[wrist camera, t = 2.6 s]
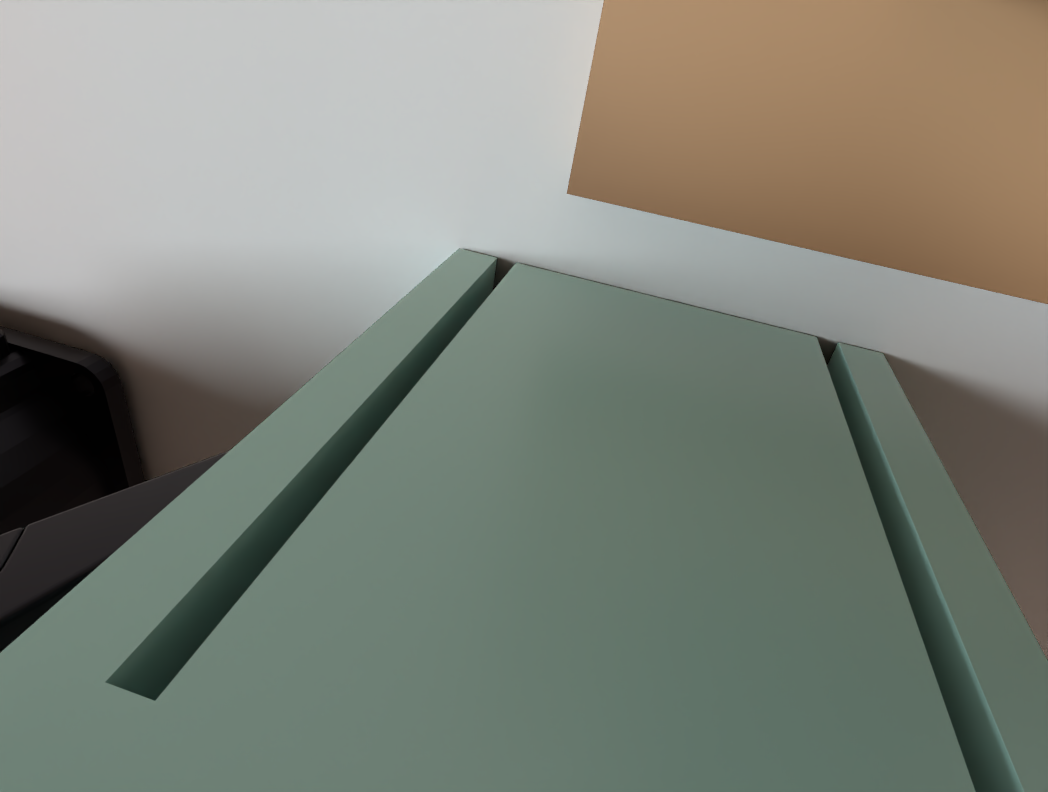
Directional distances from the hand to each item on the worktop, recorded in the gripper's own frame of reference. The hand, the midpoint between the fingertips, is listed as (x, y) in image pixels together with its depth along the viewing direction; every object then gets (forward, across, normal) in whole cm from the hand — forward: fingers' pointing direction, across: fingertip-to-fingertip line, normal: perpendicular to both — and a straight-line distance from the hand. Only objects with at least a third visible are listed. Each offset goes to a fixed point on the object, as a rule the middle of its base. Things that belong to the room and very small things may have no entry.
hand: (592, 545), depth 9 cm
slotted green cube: (+2, 0, 0) cm, 2 cm away
